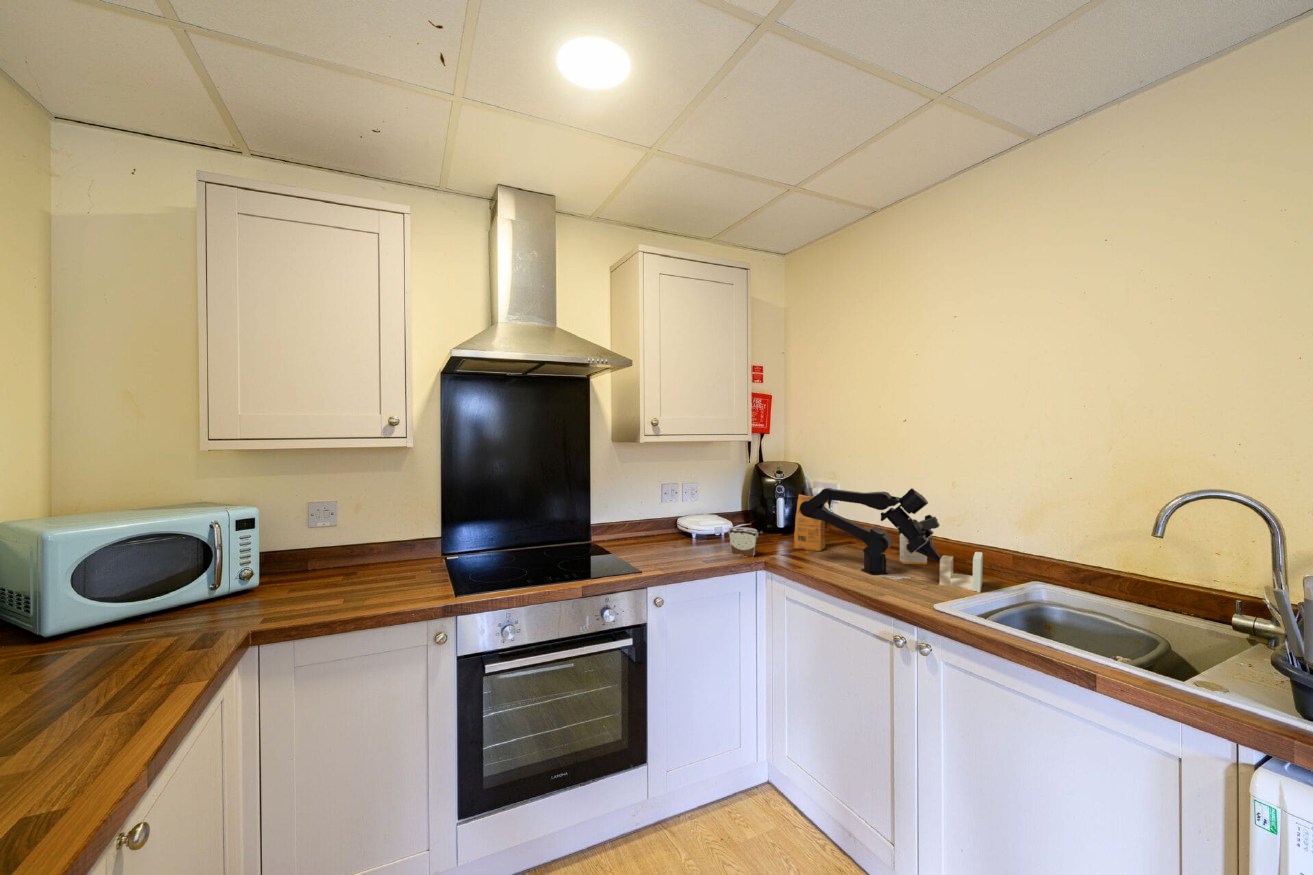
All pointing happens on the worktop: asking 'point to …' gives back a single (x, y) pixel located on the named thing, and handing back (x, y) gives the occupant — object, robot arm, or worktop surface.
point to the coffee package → (808, 530)
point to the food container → (743, 540)
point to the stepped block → (953, 575)
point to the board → (977, 571)
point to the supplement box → (910, 554)
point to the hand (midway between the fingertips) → (940, 560)
